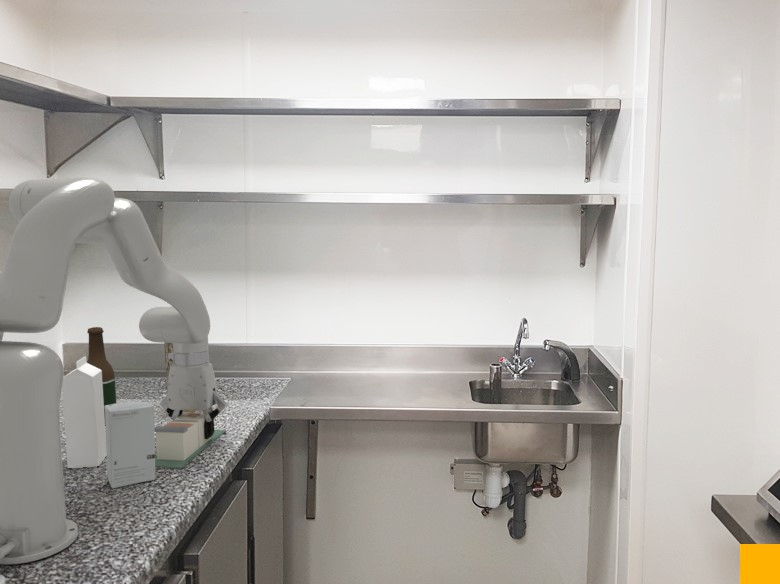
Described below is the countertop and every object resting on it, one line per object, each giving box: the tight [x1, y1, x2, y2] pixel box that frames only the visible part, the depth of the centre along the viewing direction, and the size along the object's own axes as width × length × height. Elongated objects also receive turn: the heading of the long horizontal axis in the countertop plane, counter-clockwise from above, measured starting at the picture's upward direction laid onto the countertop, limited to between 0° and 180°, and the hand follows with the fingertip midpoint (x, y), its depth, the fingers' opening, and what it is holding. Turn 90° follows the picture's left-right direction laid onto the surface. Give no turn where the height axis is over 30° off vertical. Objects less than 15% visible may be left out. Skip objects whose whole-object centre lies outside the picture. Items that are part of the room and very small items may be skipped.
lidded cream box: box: [154, 420, 199, 461], centre depth 133 cm, size 7×7×7 cm
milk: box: [61, 355, 107, 469], centre depth 128 cm, size 6×6×22 cm
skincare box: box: [105, 400, 157, 489], centre depth 120 cm, size 8×6×15 cm
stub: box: [172, 412, 211, 448], centre depth 139 cm, size 6×6×6 cm
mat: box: [155, 429, 226, 470], centre depth 138 cm, size 23×8×1 cm, turn 172°
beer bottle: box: [86, 326, 117, 417], centre depth 155 cm, size 8×8×24 cm
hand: (194, 435), depth 141 cm, fingers closed on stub, 6 cm apart
